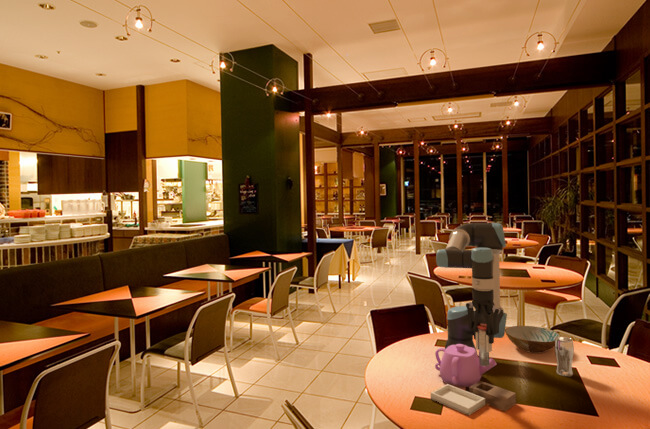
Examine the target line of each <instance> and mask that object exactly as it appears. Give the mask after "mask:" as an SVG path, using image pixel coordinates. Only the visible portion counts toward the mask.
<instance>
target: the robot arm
mask: <svg viewBox="0 0 650 429" xmlns="http://www.w3.org/2000/svg"><path fill="white" fill-rule="evenodd" d="M504 231H505V230H504V227H503V224H502V223H498V222H473V223H472V222H468V223H464V224H461V225H459V226H457V227H455V228H454V229H453V230H452V231H451V232H450V234H449V237H448V243H447V245H446V247H445V248H441V249H439V248H438V250H437V251H436V256H435V257H436V258H435V262H436V265H437V267H439V268H444V269H449V268H451V269H470V270H471V288H472V289H471V290H472V291H471V292H472V293H471V294H472V295H471V296H472V301H471V302H470V301H469V302H467V303H465V305H457V306H454V307H453V306H452V307H451V308H449V309H448V310H447V317H446V321H447V323H446V324H447V325H446V326H447V340H446V343H445V346H444V349H446V348H447V347H448V346H450V345H456V344H463V345H466V346H468V347H472V348H474V349H475V350H476V352H477V353H478V351H479V331H478V328H477V325H478V324H486V325H487V331H488V334H487V335H486V352H488V353H489V354H490V352H493V344H494V342H495V339H501V338H502V339H503V338H504V337H505V334H506V333H505V329H506V325H507V317H508V315H507V313H506V312H504V308H503V307H502V306H501V293H500V292H501V289H500V287H501V286H500V285H501V283H500V281H501V280H500V271H501V270H500V255H501V253H502V252H503V251H504V250H503V248H506V247H507V245H506V238H505V232H504ZM466 247H474V248H471V249H466ZM474 340H475V342H474ZM477 350H478V351H477Z"/></svg>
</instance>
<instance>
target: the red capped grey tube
mask: <svg viewBox="0 0 650 429" xmlns="http://www.w3.org/2000/svg"><path fill="white" fill-rule="evenodd" d="M477 328H478V331H479V349H478V357H479V365H481V366H489V360H490V352H489V353H488V352H486V335H487V334H488V331H487V325H486V324H478V325H477Z"/></svg>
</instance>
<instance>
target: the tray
mask: <svg viewBox="0 0 650 429" xmlns="http://www.w3.org/2000/svg"><path fill="white" fill-rule="evenodd" d="M430 400H431V401H434V402H436V401H437V403H438V402H439V404H441V405H444V406H446V407H448V408H450V409H453V410H455V411H458V412H459V413H462V414H465V415H467V416H470V415H472V414H473V413H475V412H477V411H478V410H480V409H482V408H483V407H484V406H486V404H485V398H483V397H480V396H478V395H475V394H473V393H470V392H469V391H468V390H464V389H462V388H460V387H456V386H455V385H452V384H448V383H445V385H443V386H441V387H439V388H437V389H436V390H433V391H431V392H430Z"/></svg>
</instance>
